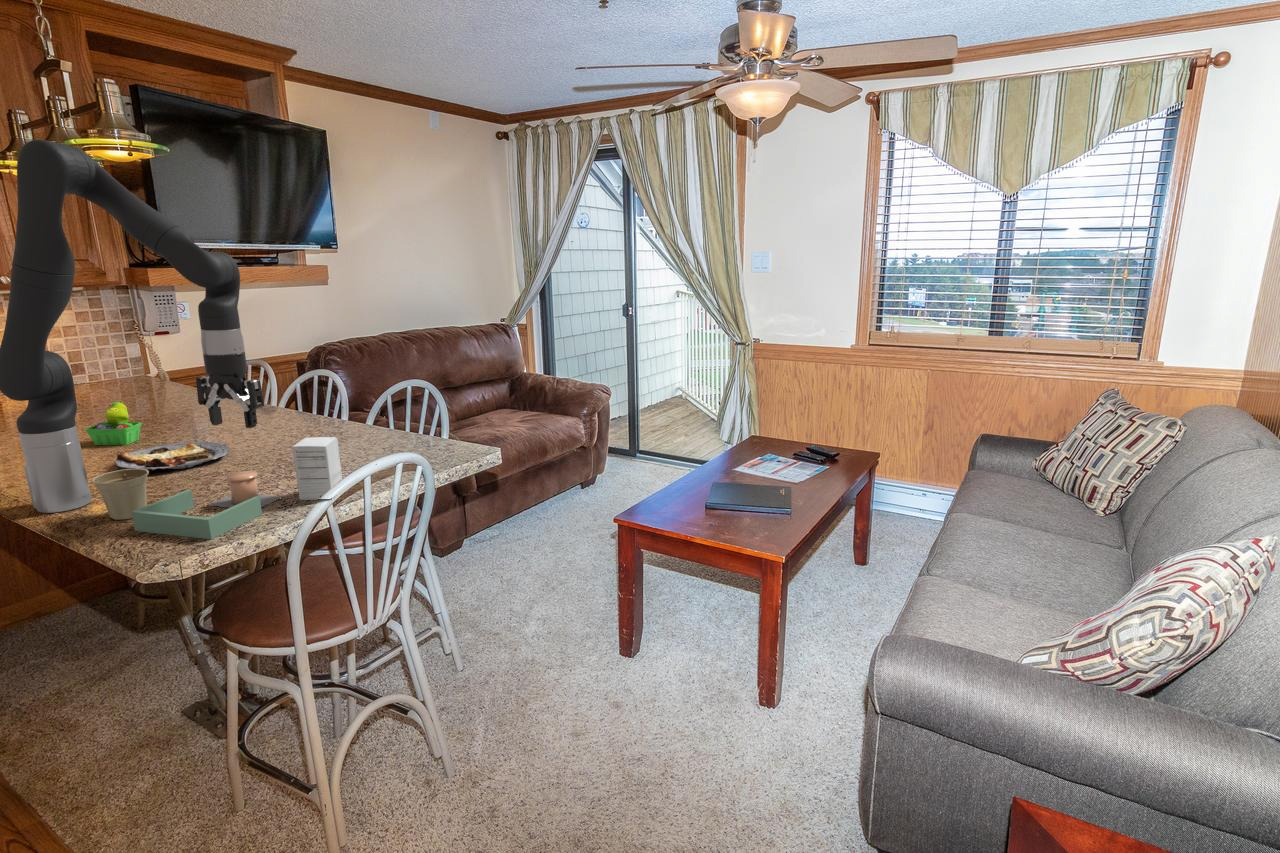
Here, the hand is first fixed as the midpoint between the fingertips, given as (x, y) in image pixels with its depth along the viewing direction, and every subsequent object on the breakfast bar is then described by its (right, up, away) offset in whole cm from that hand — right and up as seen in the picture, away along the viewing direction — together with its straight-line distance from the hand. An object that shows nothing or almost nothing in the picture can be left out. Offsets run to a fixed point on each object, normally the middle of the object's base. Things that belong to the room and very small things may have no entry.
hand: (234, 426), depth 144 cm
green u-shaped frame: (-3, -20, -7) cm, 21 cm away
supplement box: (+14, -16, +9) cm, 23 cm away
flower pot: (-20, -19, -3) cm, 28 cm away
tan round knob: (0, -16, +4) cm, 17 cm away
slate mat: (0, -17, +4) cm, 17 cm away
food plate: (-35, -10, +33) cm, 49 cm away
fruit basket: (-63, -5, +50) cm, 81 cm away
